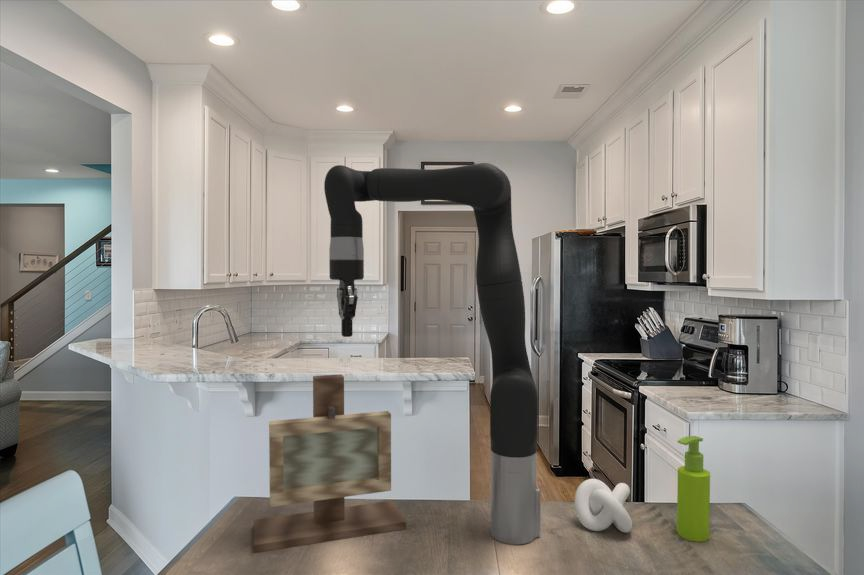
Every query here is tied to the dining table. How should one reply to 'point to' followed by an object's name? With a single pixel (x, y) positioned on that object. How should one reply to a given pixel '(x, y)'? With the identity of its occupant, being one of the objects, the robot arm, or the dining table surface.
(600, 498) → the white decorative knot
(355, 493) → the frame
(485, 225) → the robot arm
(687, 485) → the soap dispenser
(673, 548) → the dining table surface
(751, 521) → the dining table surface
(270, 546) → the stand
